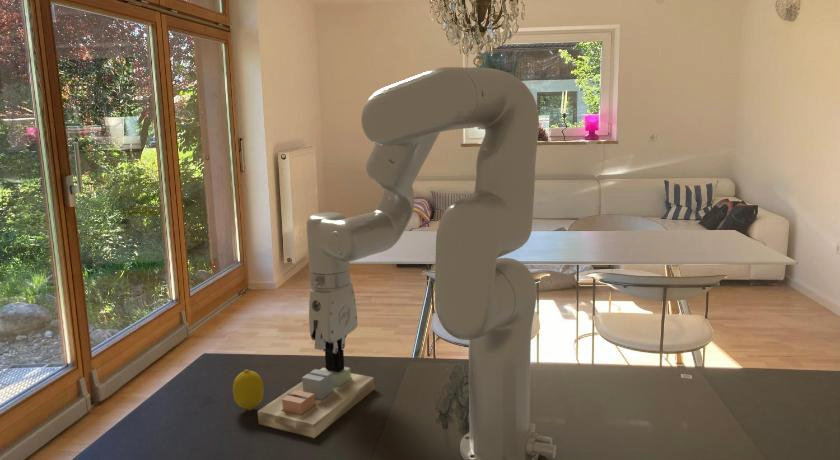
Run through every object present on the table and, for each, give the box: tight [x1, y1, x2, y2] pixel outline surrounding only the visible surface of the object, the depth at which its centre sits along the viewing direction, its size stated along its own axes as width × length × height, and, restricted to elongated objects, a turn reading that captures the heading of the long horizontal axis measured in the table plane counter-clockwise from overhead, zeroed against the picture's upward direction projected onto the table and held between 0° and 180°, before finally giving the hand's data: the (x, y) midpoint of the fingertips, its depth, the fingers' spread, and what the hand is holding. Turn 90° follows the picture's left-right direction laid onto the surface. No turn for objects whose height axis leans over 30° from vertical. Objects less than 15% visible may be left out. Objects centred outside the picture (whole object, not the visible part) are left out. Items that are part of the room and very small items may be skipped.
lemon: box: [232, 369, 265, 411], centre depth 118 cm, size 6×6×8 cm
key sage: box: [324, 366, 352, 387], centre depth 124 cm, size 4×4×4 cm
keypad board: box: [257, 367, 375, 439], centre depth 119 cm, size 12×20×2 cm, turn 153°
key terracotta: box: [282, 390, 315, 416], centre depth 114 cm, size 5×4×4 cm
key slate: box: [301, 368, 334, 401], centre depth 119 cm, size 4×4×4 cm
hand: (335, 369), depth 124 cm, fingers closed
